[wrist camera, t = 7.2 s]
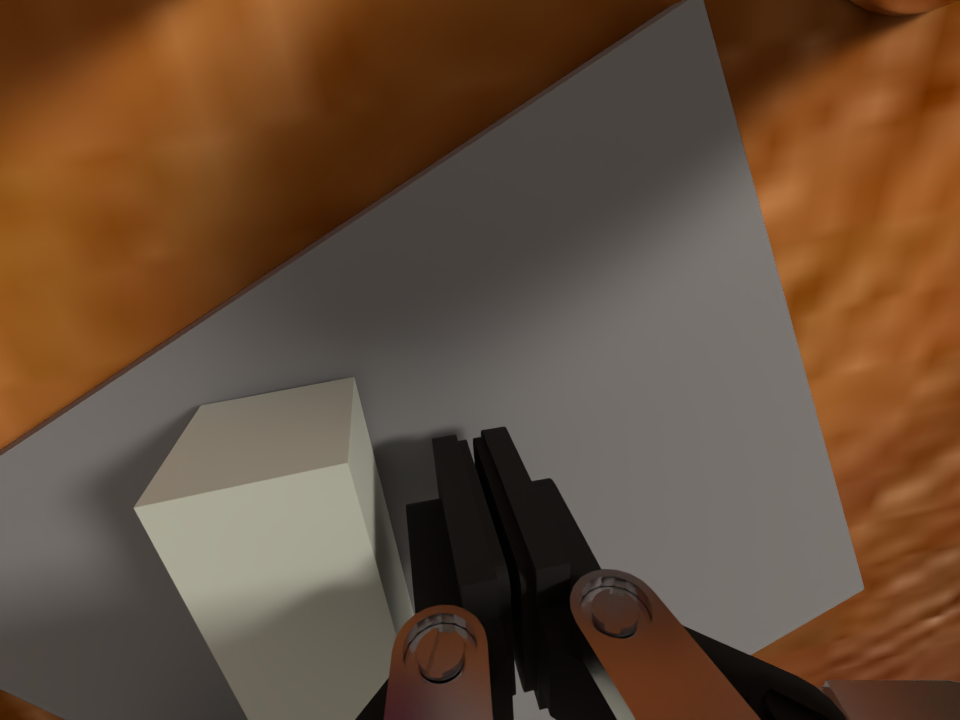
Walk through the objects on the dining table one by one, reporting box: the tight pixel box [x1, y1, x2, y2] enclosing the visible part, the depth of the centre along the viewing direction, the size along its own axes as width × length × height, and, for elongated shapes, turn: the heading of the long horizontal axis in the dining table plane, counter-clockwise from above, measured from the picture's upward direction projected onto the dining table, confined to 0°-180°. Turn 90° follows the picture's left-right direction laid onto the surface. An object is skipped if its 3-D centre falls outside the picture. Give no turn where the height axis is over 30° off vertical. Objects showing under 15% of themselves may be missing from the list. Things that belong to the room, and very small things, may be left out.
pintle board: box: [0, 0, 864, 720], centre depth 12 cm, size 20×22×6 cm
